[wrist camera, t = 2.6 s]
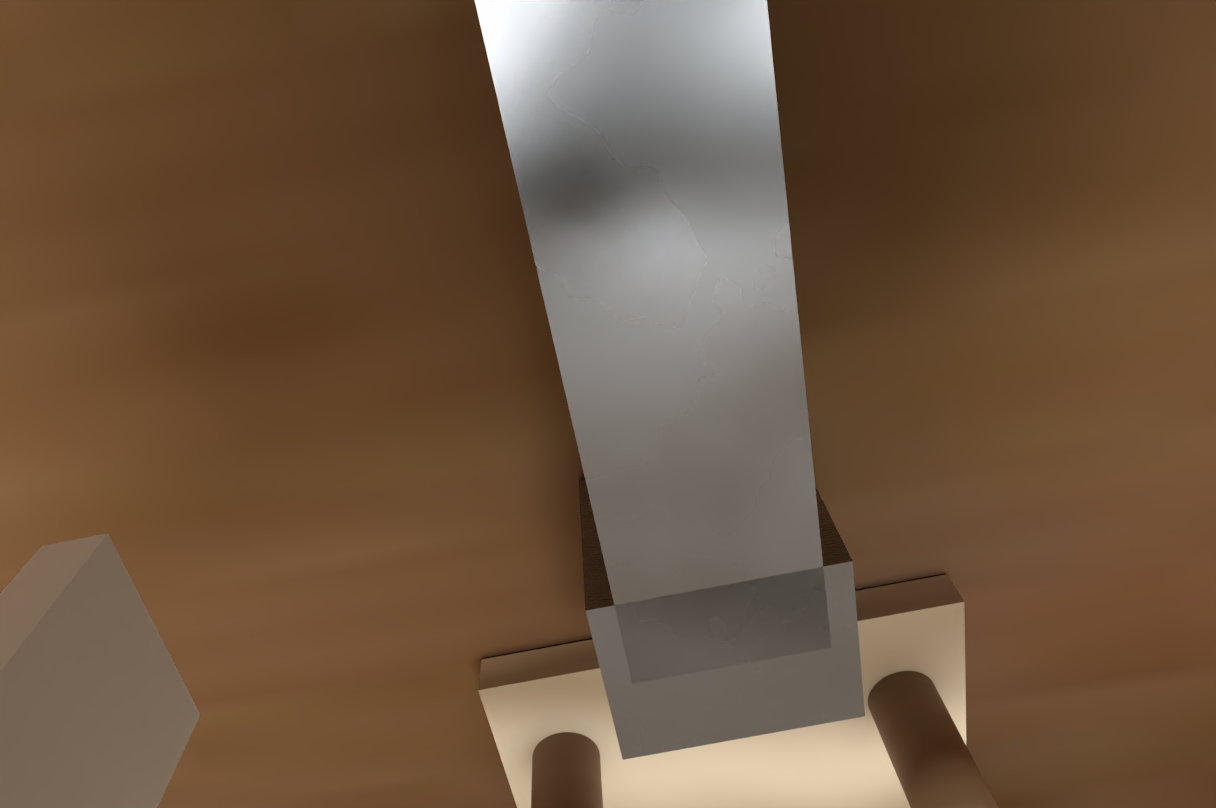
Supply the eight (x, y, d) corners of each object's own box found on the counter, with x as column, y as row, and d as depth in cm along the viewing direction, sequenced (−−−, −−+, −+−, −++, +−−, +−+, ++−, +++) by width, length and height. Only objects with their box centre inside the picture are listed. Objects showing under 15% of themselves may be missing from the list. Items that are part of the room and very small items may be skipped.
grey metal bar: (456, -45, 15) (421, -45, 11) (732, -102, 15) (796, -123, 11) (609, 609, 21) (622, 760, 17) (806, 573, 21) (865, 716, 17)
